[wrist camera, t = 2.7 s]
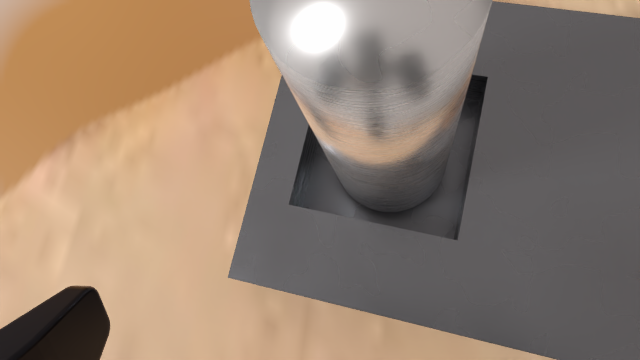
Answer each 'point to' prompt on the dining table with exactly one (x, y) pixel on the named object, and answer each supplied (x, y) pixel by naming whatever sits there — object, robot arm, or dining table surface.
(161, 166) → the dining table surface
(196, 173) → the dining table surface
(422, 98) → the steel peg
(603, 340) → the socket rail
